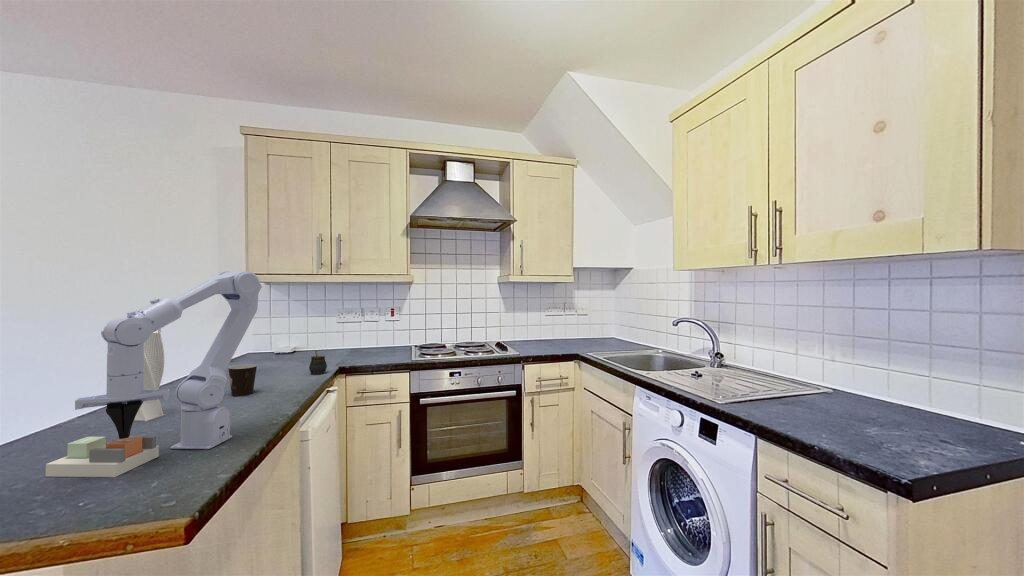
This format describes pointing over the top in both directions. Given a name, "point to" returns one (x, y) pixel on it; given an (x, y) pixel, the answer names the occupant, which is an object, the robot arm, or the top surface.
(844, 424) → the top surface
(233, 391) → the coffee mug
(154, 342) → the skyscraper
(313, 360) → the mate gourd
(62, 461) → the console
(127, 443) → the button
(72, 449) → the on button
